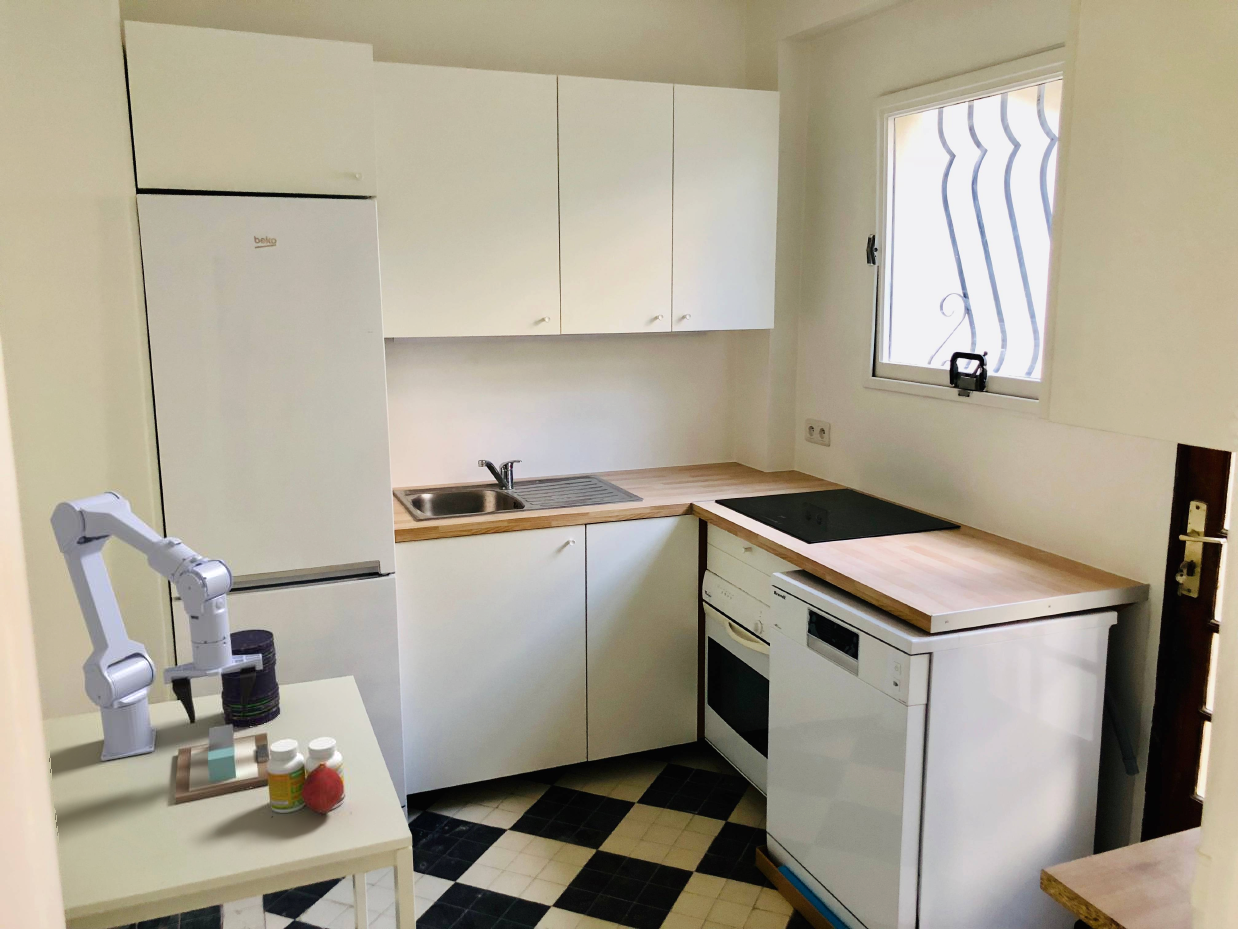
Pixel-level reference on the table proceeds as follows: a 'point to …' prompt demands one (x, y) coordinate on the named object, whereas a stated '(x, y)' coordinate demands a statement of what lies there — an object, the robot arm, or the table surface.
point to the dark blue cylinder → (264, 687)
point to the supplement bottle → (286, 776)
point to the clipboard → (197, 780)
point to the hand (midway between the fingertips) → (218, 716)
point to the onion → (322, 788)
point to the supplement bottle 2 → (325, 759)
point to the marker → (221, 753)
